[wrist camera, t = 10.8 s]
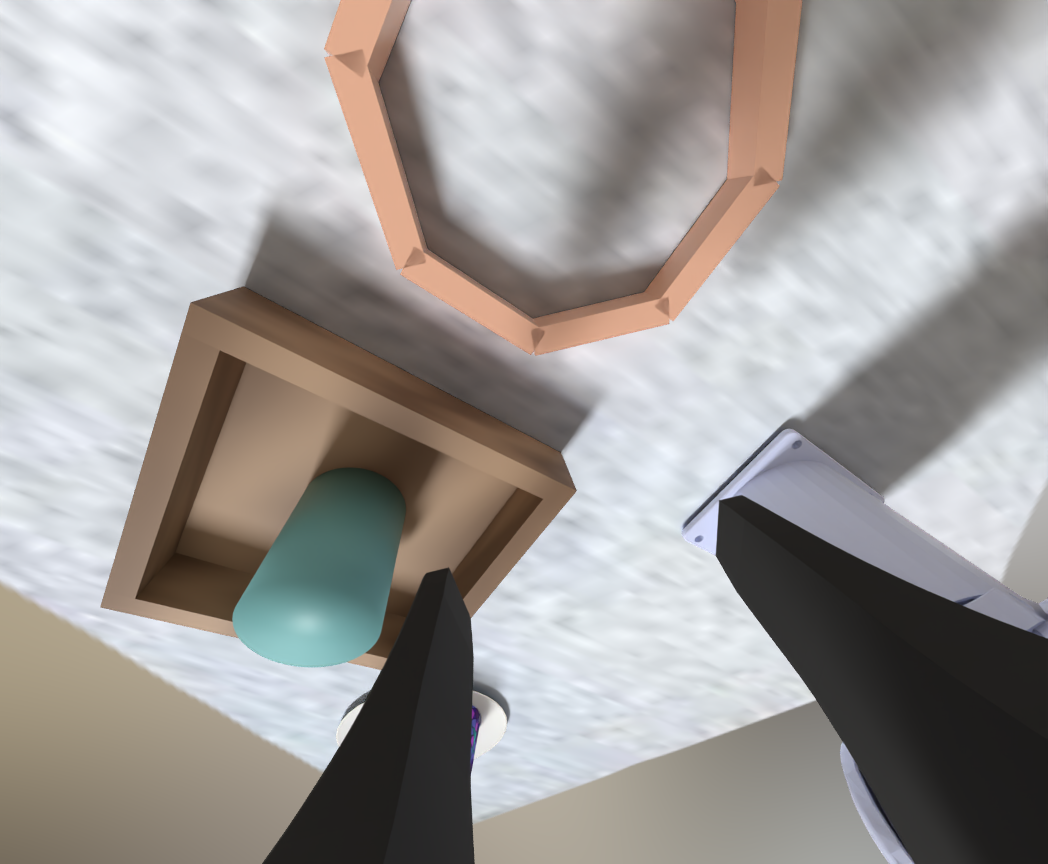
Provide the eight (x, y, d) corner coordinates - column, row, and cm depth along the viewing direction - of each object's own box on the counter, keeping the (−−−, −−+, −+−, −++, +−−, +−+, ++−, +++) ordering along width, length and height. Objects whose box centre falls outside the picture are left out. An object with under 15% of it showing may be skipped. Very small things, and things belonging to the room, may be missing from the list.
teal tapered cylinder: (385, 456, 17) (348, 562, 12) (429, 555, 20) (416, 673, 15) (283, 481, 17) (201, 598, 12) (343, 576, 20) (299, 703, 15)
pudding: (402, 653, 25) (387, 751, 20) (538, 702, 30) (551, 790, 25) (307, 742, 28) (275, 843, 24) (443, 773, 33) (439, 861, 28)
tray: (561, 452, 19) (576, 490, 16) (425, 627, 23) (420, 678, 21) (243, 286, 14) (190, 302, 11) (152, 551, 18) (100, 607, 16)
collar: (838, 74, 13) (880, 57, 12) (597, 389, 17) (608, 402, 16) (508, -398, 8) (516, -515, 7) (293, 198, 13) (273, 196, 11)
